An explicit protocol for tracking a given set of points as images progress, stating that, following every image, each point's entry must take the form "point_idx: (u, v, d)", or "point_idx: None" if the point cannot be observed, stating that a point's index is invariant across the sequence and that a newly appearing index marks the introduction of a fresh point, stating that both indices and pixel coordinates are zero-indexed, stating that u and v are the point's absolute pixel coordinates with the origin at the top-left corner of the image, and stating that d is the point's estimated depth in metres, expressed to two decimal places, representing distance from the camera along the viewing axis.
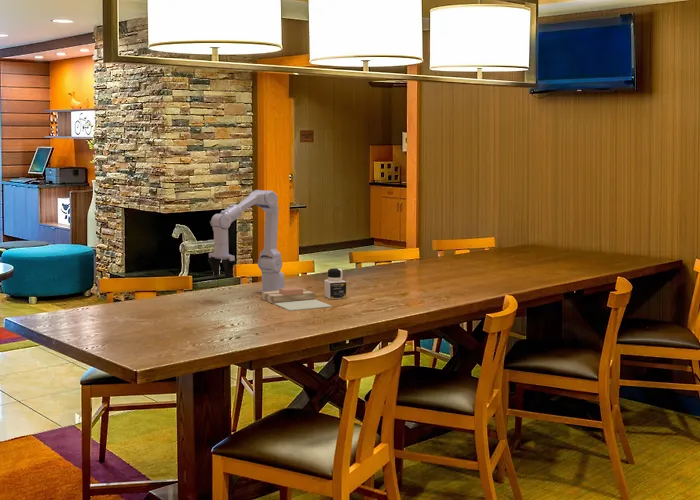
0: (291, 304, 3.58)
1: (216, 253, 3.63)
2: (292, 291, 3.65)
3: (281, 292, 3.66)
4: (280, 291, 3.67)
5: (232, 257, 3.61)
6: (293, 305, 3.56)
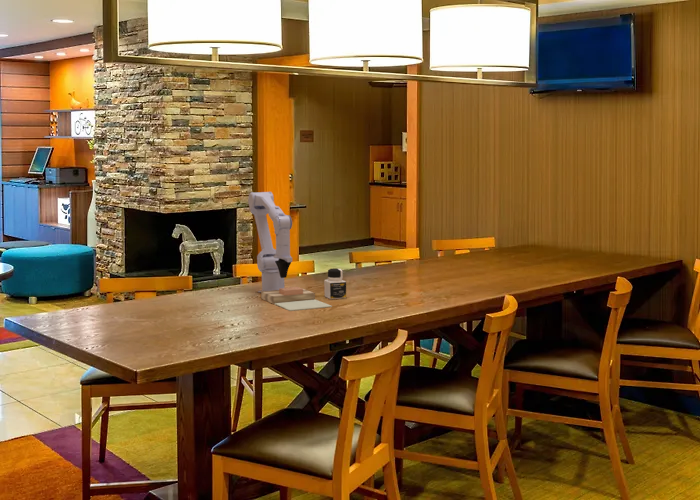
0: (291, 304, 3.58)
1: (277, 254, 3.71)
2: (292, 291, 3.65)
3: (281, 292, 3.66)
4: (280, 291, 3.67)
5: (289, 259, 3.67)
6: (293, 305, 3.56)
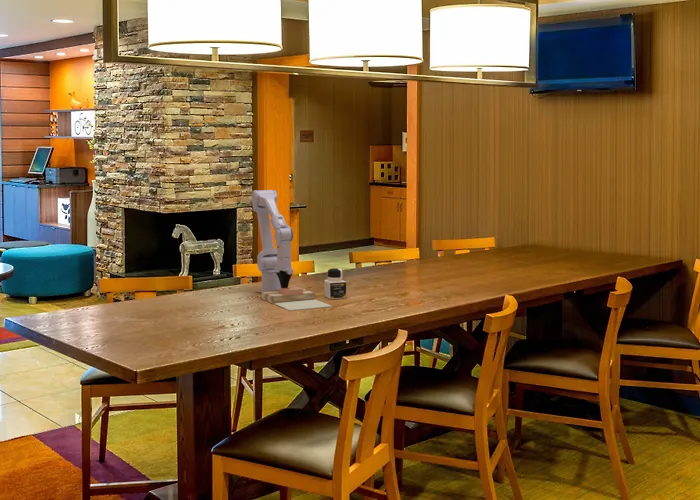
0: (291, 304, 3.58)
1: (278, 266, 3.71)
2: (292, 291, 3.65)
3: (281, 292, 3.66)
4: (280, 291, 3.67)
5: (290, 271, 3.66)
6: (293, 305, 3.56)
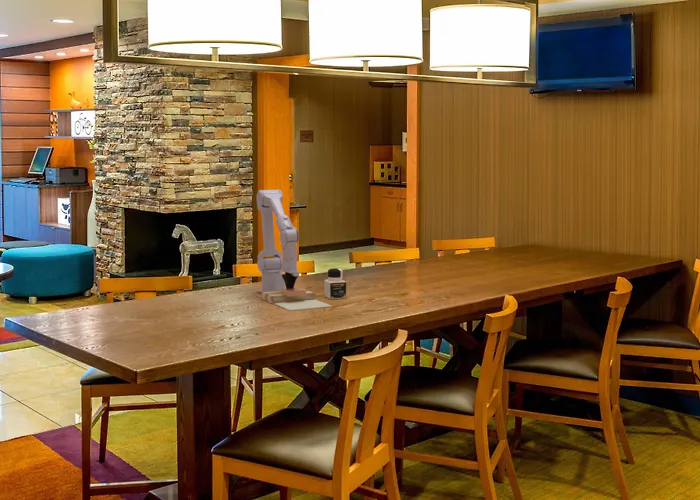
0: (291, 304, 3.58)
1: (283, 268, 3.66)
2: (294, 292, 3.62)
3: (283, 293, 3.64)
4: (282, 292, 3.65)
5: (296, 272, 3.61)
6: (293, 305, 3.56)
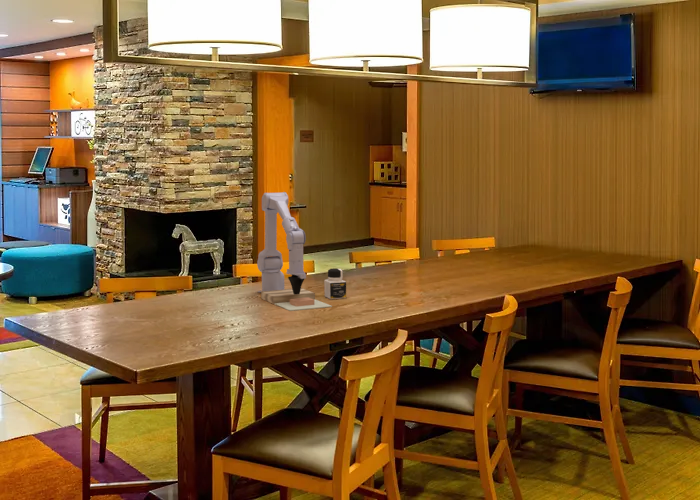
0: None
1: (290, 270, 3.60)
2: None
3: (293, 302, 3.56)
4: (294, 303, 3.55)
5: (303, 275, 3.55)
6: (293, 305, 3.56)
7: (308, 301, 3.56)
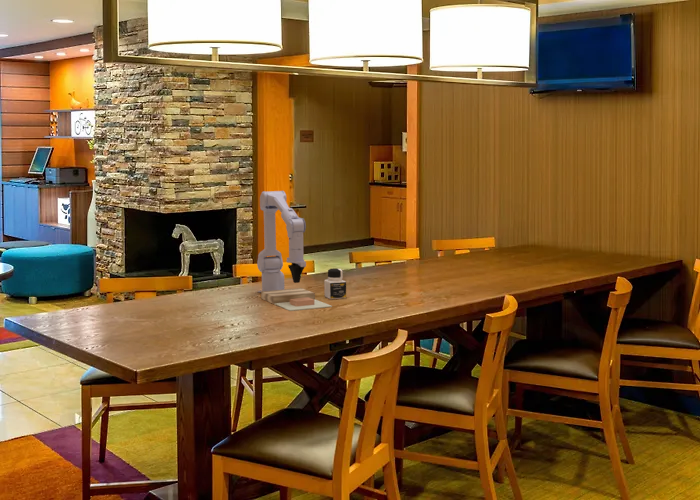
0: None
1: (290, 258, 3.59)
2: None
3: (293, 302, 3.56)
4: (294, 303, 3.55)
5: (303, 263, 3.55)
6: (293, 305, 3.56)
7: (308, 301, 3.56)
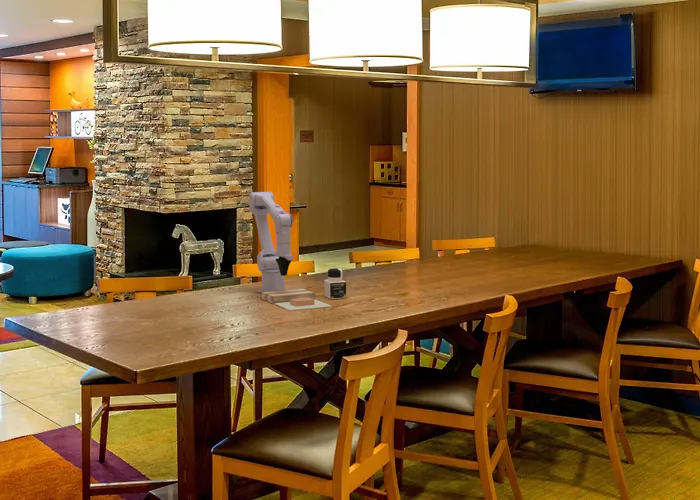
0: None
1: (277, 252, 3.71)
2: None
3: (293, 302, 3.56)
4: (294, 303, 3.55)
5: (290, 256, 3.66)
6: (293, 305, 3.56)
7: (308, 301, 3.56)
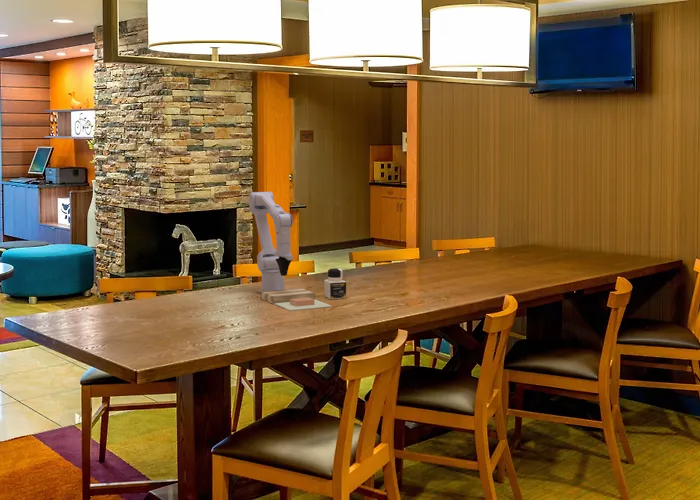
0: None
1: (277, 252, 3.71)
2: None
3: (293, 302, 3.56)
4: (294, 303, 3.55)
5: (290, 256, 3.66)
6: (293, 305, 3.56)
7: (308, 301, 3.56)
